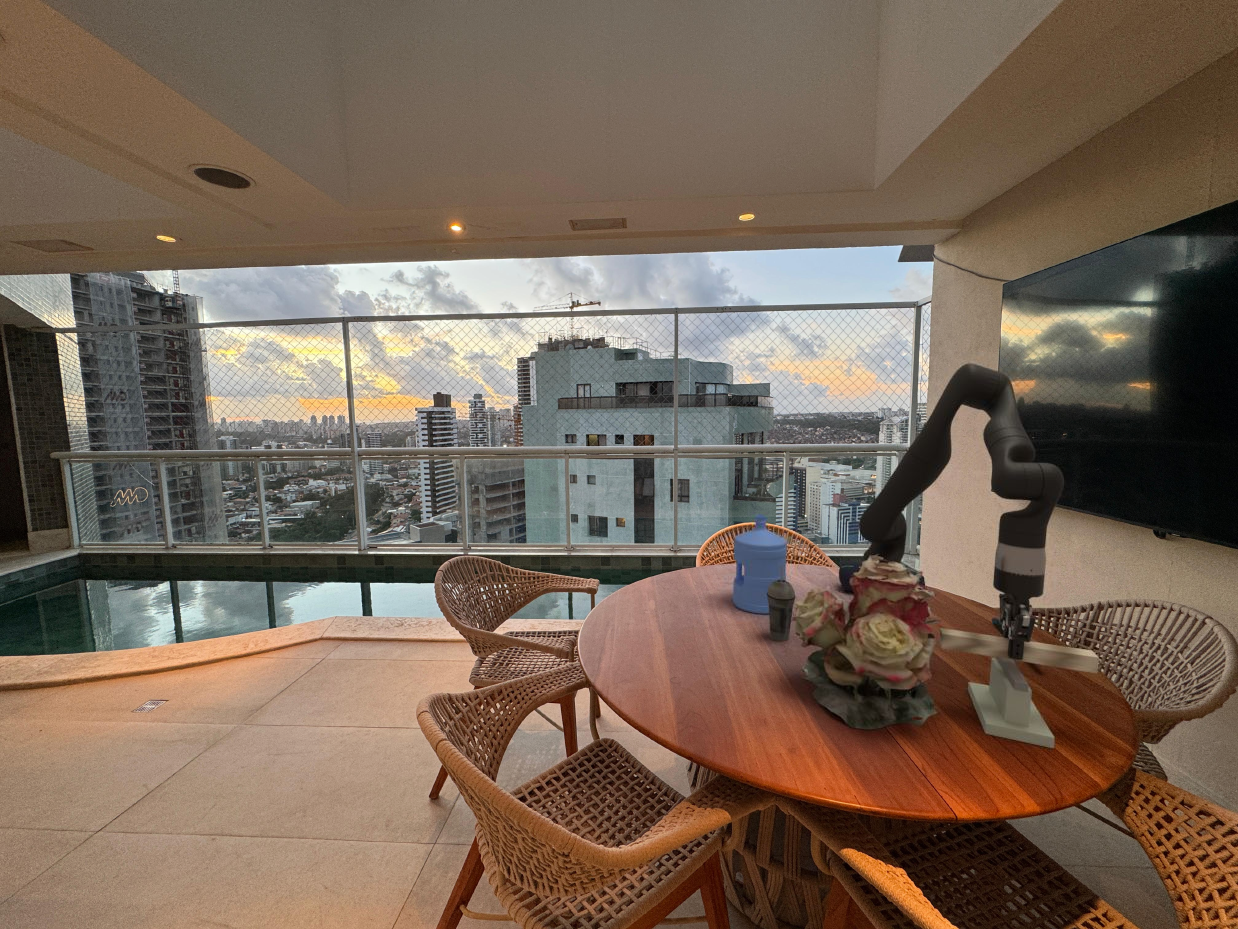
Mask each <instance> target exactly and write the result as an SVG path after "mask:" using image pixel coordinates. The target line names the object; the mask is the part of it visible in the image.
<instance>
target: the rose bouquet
mask: <svg viewBox="0 0 1238 929" xmlns="http://www.w3.org/2000/svg"><path fill="white" fill-rule="evenodd" d="M877 555H878V554H876V555H875V556H870V557H869V558H868V560H866V561H863V560H862V562H861V563H862V566H861V568H860V571H859V572H858V573H853V575H851V577H852V578H851V579H850V586H851V588H852V590H853V592H852V593H853V598H852V599H851V601H847V600H845V599H842V598H841V597H839V596H837V595H836V594H835V593H834V592H833V591H832V590H831V587H830V586H829V585H826V586H823V587H820V588H814V589H811V591H809V592H807V595H806V597H805V598H804V599H801V600H797V601H794V605H796V608H795V610H796V612H795V616H792V618H791V622H795V624H794V629H793V631H794V633H795V635H797V636H798V638H799V639H800V640H802V643H801V645H800V646H801V647H802V648H807V647H809V646H815V647H819V648H821V650H815V651H814V652H813V651H812V653H810V654H809V655H808V657H807V658H806V662H805V663H804V664H803V666H802V667H801V670H802V673H803V674H804V675H805V677H802V678H803V679H805V680H807V681H808V682H810V683H811V684H813V685H814V686H816V689H814V691H813V692H812V693H811V695H812V696H813V698H814V699H815V701H816V702H817V703H818V704H819V705H820V706H823V707H824V708H827V709H828V710H829V711H830V712H831V713H834V714H836V715H837V716H839V717H840V718H841V719H842V720H843V721H844V722H845V724H847V726H848V727H850V728H851V729H859V730H861V729H862V730H867V731H868V730H869V731H870V730H871V731H872V730H878V729H882V728H885V727H889V726H891V725H895V724H913V725H917V726H918V725H919V726H924V724H925V722H926V721H927V719H928V718H930V717H931V716H933V715H935V714H938V711H936V709H935V701H934V699H933V697H932V696H931V695H930V694H929V692H928V690H927V686H926V684H925V682H926V681H929V680H931V678H932V674H931V672H930V661H931V660H930V659H931V656H932V654H933V652H934V647H935V646H936V645H937V640H936V636H935V635H934V634H933V633H932V629H931V627H930V626H928V624H937V623H939V622H941V621H943V620H942V619H940V620H939V619H933V620H931V619H929V620H928V619H927V618H930V617H933V614H932V612H931V608H930V606H929V603H928V601H927V598H932V599H933V600H935V599H936V596H937V594H935V592H934V591H933V590H931V589H929V588H928V587H927V586H926V585H925V586H923V585H919V578H920V577H921V576H923V574H924V572H923V570H922V571H921V570H919V571H918V572H917V573H918V574H916V575H915V576H914V575H913V574H912V573H911V572H910V571H912V569H911V568H910V569H909V568H907V567H906V566H904V565H903V564H902V563H897V562H894V561H893V562H892V561H887V560H883V558H881V557H878V556H877ZM795 677H797V676H795ZM845 688H846V689H845ZM910 691H911V692H910ZM860 694H861V695H860ZM862 694H864V695H862ZM901 697H902V698H901ZM917 717H919V718H922V719H913V718H917Z"/></svg>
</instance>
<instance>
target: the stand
mask: <svg viewBox="0 0 1238 929" xmlns="http://www.w3.org/2000/svg"><path fill="white" fill-rule="evenodd" d="M967 685H968V686H967V692H968V694H970V695H969V696H970V699H972V700H971V702H972V701H973V702H972V704H973V706H974V709H975V711H976V714H977V717H978V718H979V719H978V720H979V721H980V723H981V727H982V729H983V730H984V734H985V735H986V734H987V735H990V736H995V737H1000V738H1004V739H1009V740H1013V741H1014V740H1015V741H1018V742H1022V743H1026V744H1032V745H1036V746H1041V747H1046V748H1050V749H1054V748H1055V738H1056V737H1055V736H1054V734H1053V733H1052V731H1051V729H1050V727H1048V724H1047V723H1046V721H1045V720H1044V718H1043V716H1042V715H1041V713H1040V711H1039V710H1038V709H1037V707H1036V705H1035V704H1034V702H1033V700H1032V693H1033V691H1032V689H1031V687H1030V685H1029V683H1028V681H1027V680H1026V678H1025V676H1024V675H1023V673H1022V672H1021V670H1020V669H1019V667H1018V666H1017V664H1016V663H1015V660H1011V659H1005V658H999V657H991V659H990V671H989V685H987V684H982V683H977V682H976V683H975V682H971V681H968V683H967Z"/></svg>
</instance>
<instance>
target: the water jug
mask: <svg viewBox="0 0 1238 929" xmlns="http://www.w3.org/2000/svg"><path fill="white" fill-rule="evenodd" d="M754 517H755V521H754V524H755V525H754V526H755V527H754V528H753V529H751V530H748V531H745V532H741V533H740V534H737V535H736V536H735V537H734V542H733V559H734V561H735V562H736V564H735V565H736V566H735V569H736V570H735V578H734V579H733V587H732V588H733V592H732V602H733V604H734V605H735V606H736V608H739V609H741V610H742V611H745V612H748V613H753V614H761V615H763V614H764V615H766V614H767V615H769V603H768V599H767V590H768V587H769V586H770V584H771V583H772V582H773V581H776V580H780V577H781V565H783V580H785V581H787V572H786V571H787V570H786V569H787V567H786V565H787V552H788V547H787V544H788V543H787V541H786V539H785V538H784V537H783V536H780V535H778V534H776V533H774V532H773V531H770V530H768V529H767V520H766V518H767V515H764V514H756V515H755V516H754Z"/></svg>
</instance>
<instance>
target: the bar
mask: <svg viewBox="0 0 1238 929" xmlns="http://www.w3.org/2000/svg"><path fill="white" fill-rule="evenodd" d="M938 638H939V639H938V643H939V645H940V648H941V649H944V650H950V651H951V650H952V651H956V652H957V651H958V652H962V653H969V654H975V655H982V656H988V657H992V658H996V657H999V658H1005V659H1011V658H1009V656H1008V643H1009V638H1004V637H1003V636H996V635H989V634H985V633H984V634H982V633H977V632H969V631H965V630H964V631H963V630H956V629H949V628H943V627H942V628H941V627H939V637H938ZM1011 660H1013V661H1018V662H1025V663H1029V664H1036V665H1042V666H1049V667H1055V668H1060V669H1061V668H1063V669H1067V670H1073V671H1077V672H1078V671H1080V672H1085V673H1086V672H1087V673H1093V674H1098V673H1099V663H1100V657H1099V656H1098V655H1097V654H1096V653H1095V652H1094V651H1093V650H1092V649H1083V648H1076V647H1069V646H1065V645H1064V646H1063V645H1056V644H1049V643H1043V642H1036V641H1031V640H1030V642H1024V652H1023V659H1022V660H1016V659H1011Z"/></svg>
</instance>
